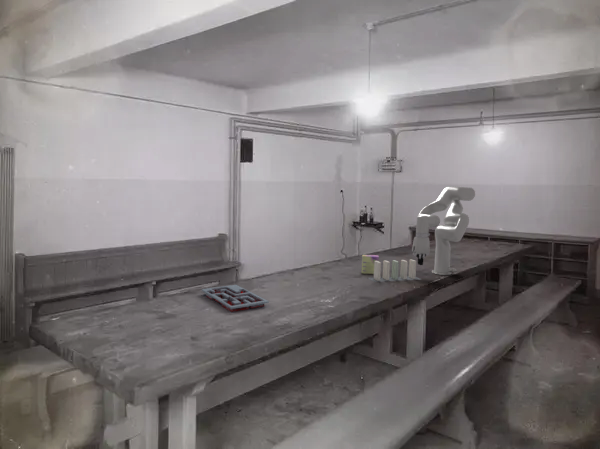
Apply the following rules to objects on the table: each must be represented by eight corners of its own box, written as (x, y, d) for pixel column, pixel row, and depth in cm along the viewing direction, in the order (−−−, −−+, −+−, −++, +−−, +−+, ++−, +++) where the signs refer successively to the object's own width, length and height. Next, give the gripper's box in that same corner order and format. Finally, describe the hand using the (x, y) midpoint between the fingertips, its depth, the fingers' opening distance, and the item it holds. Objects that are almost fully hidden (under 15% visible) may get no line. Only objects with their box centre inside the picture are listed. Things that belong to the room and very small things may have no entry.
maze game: (268, 307, 221) (268, 301, 221) (231, 314, 210) (231, 307, 210) (236, 290, 250) (236, 284, 249) (201, 295, 239) (201, 289, 238)
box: (377, 272, 299) (378, 255, 297) (378, 275, 293) (378, 256, 292) (361, 272, 300) (362, 254, 298) (361, 274, 294) (362, 255, 293)
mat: (413, 276, 291) (413, 275, 291) (421, 280, 282) (422, 279, 282) (367, 278, 282) (367, 277, 282) (374, 282, 272) (374, 281, 272)
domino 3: (393, 277, 284) (394, 260, 283) (397, 279, 280) (398, 261, 278) (391, 277, 284) (392, 260, 282) (395, 279, 279) (396, 261, 278)
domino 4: (402, 277, 286) (403, 259, 285) (406, 279, 281) (407, 261, 280) (399, 277, 286) (400, 259, 284) (404, 279, 281) (405, 261, 279)
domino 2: (385, 278, 283) (386, 260, 281) (389, 280, 278) (390, 262, 276) (382, 278, 282) (383, 260, 281) (386, 280, 277) (387, 262, 276)
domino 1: (376, 278, 281) (377, 260, 279) (380, 280, 276) (381, 262, 275) (373, 278, 280) (374, 260, 279) (377, 280, 275) (378, 262, 274)
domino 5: (411, 276, 288) (412, 259, 286) (415, 278, 283) (416, 261, 282) (408, 276, 287) (409, 259, 286) (412, 278, 283) (413, 261, 281)
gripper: (429, 234, 289) (427, 263, 292) (408, 234, 285) (406, 263, 287) (436, 236, 282) (434, 265, 284) (414, 236, 278) (412, 266, 280)
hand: (420, 264), depth 286 cm, fingers closed
